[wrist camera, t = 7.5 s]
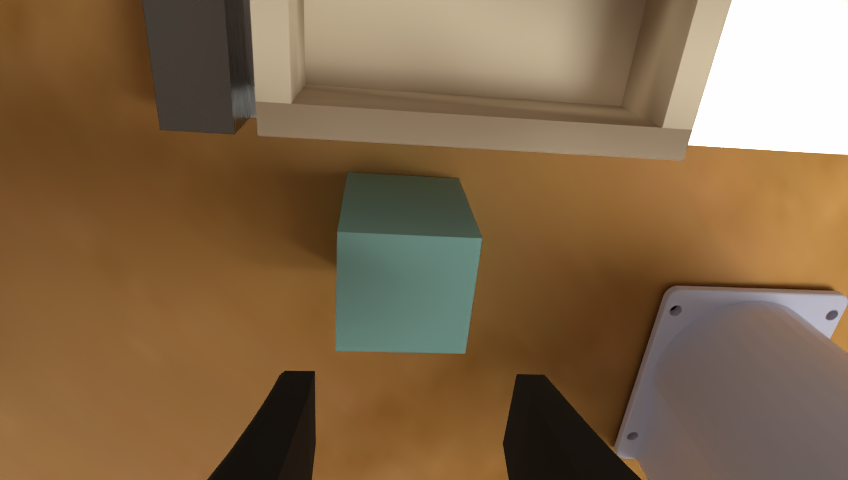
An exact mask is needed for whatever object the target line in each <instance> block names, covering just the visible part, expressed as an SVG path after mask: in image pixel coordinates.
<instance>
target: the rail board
mask: <svg viewBox="0 0 848 480" xmlns="http://www.w3.org/2000/svg"><path fill="white" fill-rule="evenodd" d="M142 3H143V10H144V17H145V24H146V31H147V39H148V46H149V53H150V60H151V68H152V75H153V82H154V89H155V96H156V104H157V111H158V118H159V125H160V130H171V131H188V132H205V133H222V134H235V133H236V132H237V131H238V130H239V129H240V128H241V127H242V126H243V125H244V124H245V123H246V122H247V120H248V119H249V118H257V117H256V99H255V82H254V65H253V47H252V30H251V12H250V0H142ZM688 145H700V146H716V147H732V148H748V149H765V150H781V151H797V152H813V153H829V154H845V155H848V0H732V3H731V6H730V10H729V13H728V16H727V19H726V23H725V26H724V29H723V33H722V36H721V39H720V42H719V46H718V49H717V52H716V55H715V59H714V62H713V65H712V69H711V72H710V75H709V78H708V82H707V85H706V88H705V91H704V95H703V98H702V101H701V105H700V108H699V111H698V114H697V118H696V121H695V124H694V127H693V131H692V134H691V137H690V141H689V144H688Z"/></svg>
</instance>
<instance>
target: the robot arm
mask: <svg viewBox="0 0 848 480" xmlns="http://www.w3.org/2000/svg"><path fill="white" fill-rule="evenodd" d="M847 303H848V299H847V297H846V296H845V295H843V294H842V293H840V292H838V291H824V290H794V289H765V288H735V287H705V286H673V287H671V288H669V289H668V290H667V291H666V292H665V294H664V296H663V299H662V302H661V305H660V308H659V311H658V314H657V317H656V320H655V323H654V326H653V329H652V332H651V336H650V339H649V342H648V345H647V348H646V351H645V354H644V357H643V360H642V363H641V366H640V369H639V372H638V375H637V378H636V382H635V385H634V388H633V391H632V394H631V397H630V400H629V403H628V406H627V409H626V412H625V415H624V418H623V421H622V424H621V428H620V431H619V434H618V437H617V440H616V443H615V446H614V449H615V451H616V453H617V455H618V456H619V457H620V458H637V460H638V462H639V464H640V466H641V468H642V469H643V471H644V473H645V475H646V477H647V479H648V480H848V353H847V352H845V351H844V350H843V349H842V348H840V347H839V346H838V345H837V344H835V343H834V342H833V341H832V340H830V338H831V336H832V334H833V332H834V330H835V328H836V326H837V324H838V322H839V320H840V318H841V316H842V314H843V312H844V310H845V308H846V306H847ZM674 306H677V307H676V308H675V309H674V310H672V311H670V309H671V308H672V307H674ZM828 312H829V313H828ZM827 313H828V314H827ZM315 445H316V432H315V371H284V372H283V373H282V374H281V375H279V377H278V379H277V381H276V383H275V385H274V387H273V388H272V390H271V392H270V393H269V395H268V397H267V398H266V400H265V401H264V403H263V405H262V406H261V408H260V409H259V411H258V412H257V414H256V415H255V417H254V418H253V420H252V421H251V423H250V424H249V425H248V427H247V428H246V430H245V431H244V432H243V434H242V435H241V437H240V438H239V439H238V441H237V442H236V444H235V445H234V446H233V448H232V449H231V450H230V452H229V453H228V454H227V456H226V457H225V458H224V460H223V461H222V462H221V463H220V464H219V466H218V467H217V468H216V469H215V471H214V472H213V473H212V474H211V476H210V477H209V478H208V479H207V480H312V472H313V463H314V454H315ZM503 447H504V453H505V459H506V466H507V471H508V477H509V480H641V479H640V478H639V477H638V476H637V475H636V474H635V473H634V472H633V471H632V470H631V469H630V468H629V467H628V466H627V465H626V464H625V463H624V462H623V461H622V460H621V459H620V458H619V457H618V456H617V455H616V454H615V453H614V452H613V451H612V450H611V449H610V448H609V447H608V446H607V444H606V443H605V442H604V441H603V440H602V439H601V438H600V437H599V436H598V435H597V434H596V433H595V432H594V431H593V429H592V428H591V427H590V426H589V425H588V424H587V423H586V422H585V421H584V419H583V418H582V417H581V416H580V415H579V414H578V413H577V412H576V410H575V409H574V408H573V407H572V406H571V405H570V404H569V402H568V401H567V400H566V399H565V398H564V397H563V396H562V394H561V393H560V392H559V391H558V390H557V389H556V388H555V386H554V385H553V384H552V383H551V382H550V381H549V380H548V378H547V377H546V376H545V375H528V374H517V376H516V381H515V386H514V391H513V396H512V401H511V406H510V411H509V416H508V421H507V426H506V431H505V436H504V441H503Z"/></svg>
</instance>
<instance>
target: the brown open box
mask: <svg viewBox="0 0 848 480" xmlns="http://www.w3.org/2000/svg"><path fill="white" fill-rule="evenodd" d="M731 3H732V0H250V12H251V30H252V47H253V65H254V82H255V99H256V117H257V134H258V136H269V137H287V138H304V139H321V140H338V141H355V142H372V143H389V144H406V145H423V146H440V147H457V148H474V149H491V150H508V151H525V152H542V153H559V154H576V155H593V156H611V157H628V158H645V159H662V160H679V161H683V160H684V157H685V154H686V150H687V147H688V144H689V141H690V137H691V134H692V131H693V127H694V124H695V121H696V118H697V114H698V111H699V108H700V105H701V101H702V98H703V95H704V91H705V88H706V85H707V82H708V78H709V75H710V72H711V69H712V65H713V62H714V59H715V55H716V52H717V49H718V46H719V42H720V39H721V36H722V33H723V29H724V26H725V23H726V19H727V16H728V13H729V10H730V6H731Z"/></svg>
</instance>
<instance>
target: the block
mask: <svg viewBox="0 0 848 480" xmlns="http://www.w3.org/2000/svg"><path fill="white" fill-rule="evenodd" d="M481 244H482V236H481V234H480V231H479V229H478V226H477V224H476V221H475V219H474V216H473V214H472V211H471V209H470V206H469V203H468V201H467V198H466V196H465V193H464V191H463V188H462V186H461V183H460V181H459V178H442V177H425V176H407V175H389V174H372V173H354V172H347V177H346V183H345V189H344V195H343V201H342V207H341V213H340V218H339V224H338V230H337V280H336V350H335V351H363V352H410V353H457V354H465V352H466V345H467V339H468V332H469V325H470V318H471V312H472V305H473V298H474V291H475V284H476V278H477V271H478V264H479V257H480V251H481Z"/></svg>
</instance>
